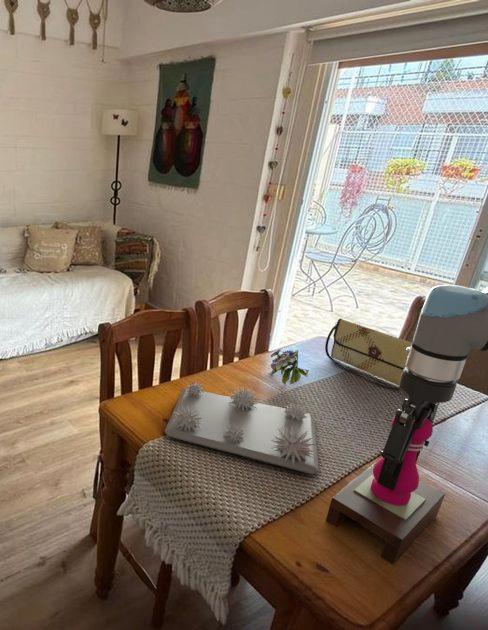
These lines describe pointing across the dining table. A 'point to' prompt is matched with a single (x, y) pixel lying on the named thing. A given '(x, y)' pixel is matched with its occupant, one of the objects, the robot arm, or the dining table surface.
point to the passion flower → (283, 362)
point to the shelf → (386, 513)
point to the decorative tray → (246, 428)
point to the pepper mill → (403, 470)
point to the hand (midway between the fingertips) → (395, 477)
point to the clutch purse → (369, 351)
